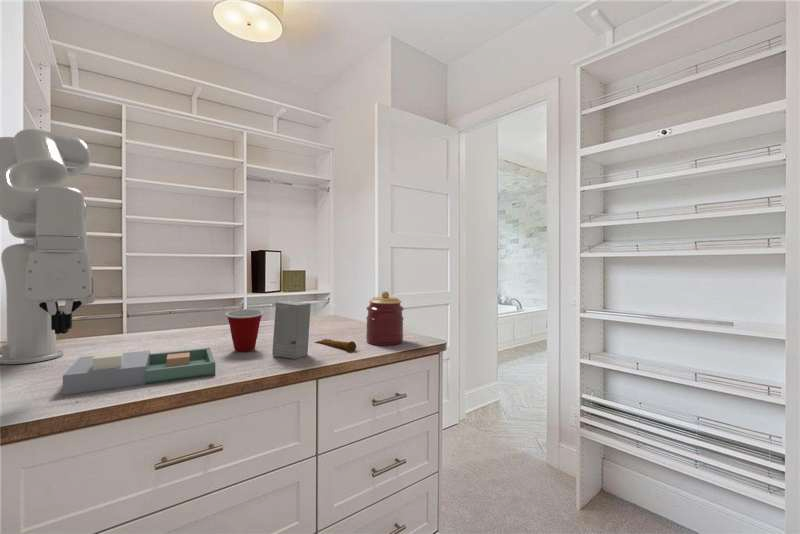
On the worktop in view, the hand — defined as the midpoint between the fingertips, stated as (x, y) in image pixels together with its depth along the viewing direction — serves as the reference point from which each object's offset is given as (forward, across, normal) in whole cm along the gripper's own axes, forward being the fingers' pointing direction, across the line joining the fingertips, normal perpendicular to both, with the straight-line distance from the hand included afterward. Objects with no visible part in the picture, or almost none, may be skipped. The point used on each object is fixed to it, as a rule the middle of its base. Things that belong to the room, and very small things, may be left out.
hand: (61, 332), depth 78 cm
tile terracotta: (+9, +21, +8) cm, 24 cm away
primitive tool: (+13, +65, +11) cm, 67 cm away
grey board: (+12, +8, +5) cm, 15 cm away
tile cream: (+8, +8, +1) cm, 11 cm away
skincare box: (+13, +50, +6) cm, 52 cm away
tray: (+12, +22, +5) cm, 25 cm away
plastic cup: (+12, +39, +19) cm, 45 cm away
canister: (+13, +83, +9) cm, 84 cm away
